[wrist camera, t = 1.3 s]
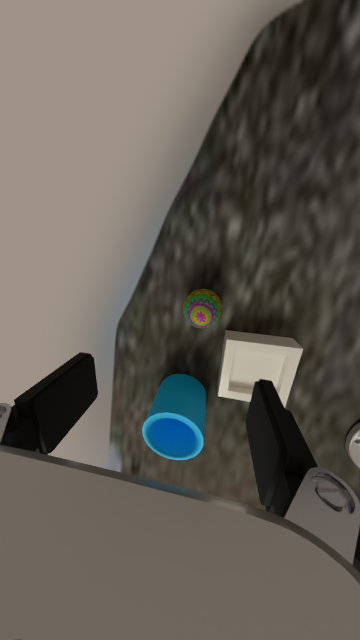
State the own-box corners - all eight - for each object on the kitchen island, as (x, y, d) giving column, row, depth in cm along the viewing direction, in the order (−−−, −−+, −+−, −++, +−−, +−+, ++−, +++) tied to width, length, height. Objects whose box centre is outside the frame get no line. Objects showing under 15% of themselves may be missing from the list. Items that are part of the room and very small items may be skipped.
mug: (162, 368, 31) (144, 405, 23) (210, 380, 30) (209, 422, 22) (155, 421, 35) (138, 467, 27) (197, 433, 34) (192, 484, 26)
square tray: (292, 338, 25) (303, 348, 22) (277, 391, 28) (284, 407, 25) (225, 330, 26) (226, 339, 24) (217, 382, 30) (217, 396, 27)
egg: (228, 298, 25) (232, 310, 19) (208, 326, 27) (207, 345, 21) (197, 279, 25) (192, 286, 19) (180, 309, 27) (170, 322, 21)
